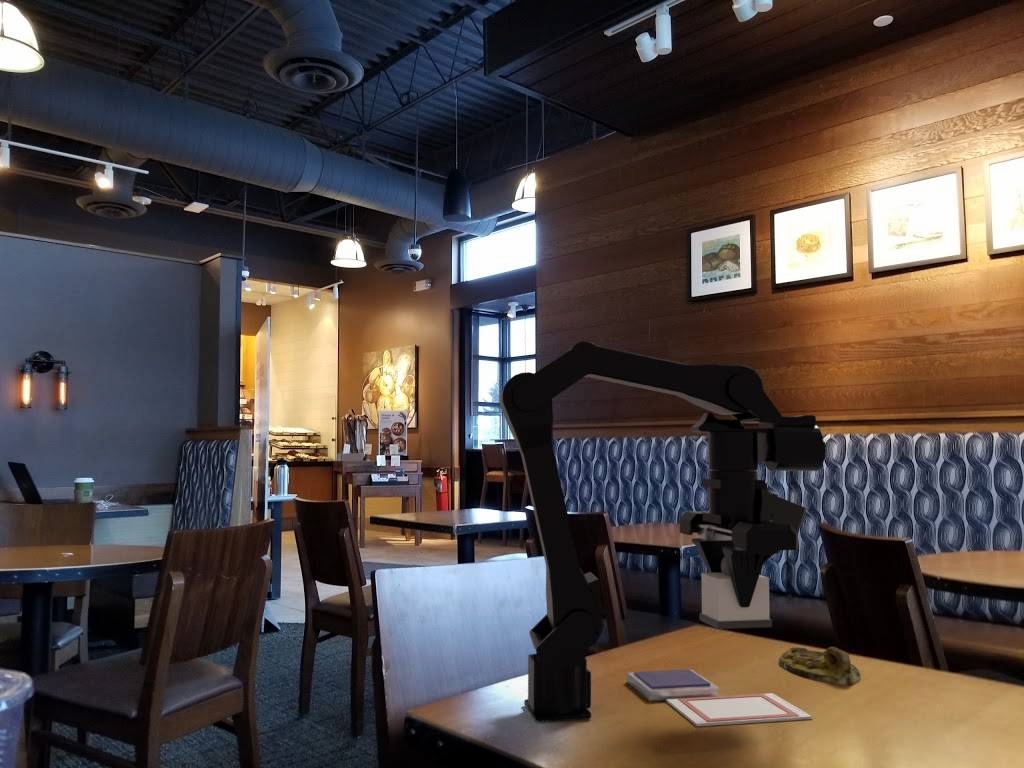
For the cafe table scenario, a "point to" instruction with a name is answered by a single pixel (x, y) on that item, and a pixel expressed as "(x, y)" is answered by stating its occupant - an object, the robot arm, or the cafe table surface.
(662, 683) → the ink pad
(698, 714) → the sheet
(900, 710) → the cafe table surface
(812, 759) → the cafe table surface
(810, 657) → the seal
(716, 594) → the stamp
